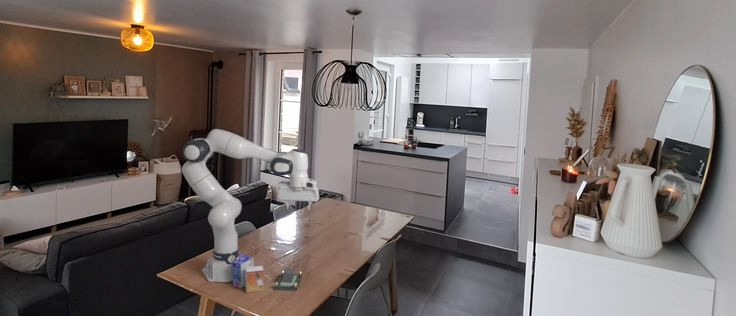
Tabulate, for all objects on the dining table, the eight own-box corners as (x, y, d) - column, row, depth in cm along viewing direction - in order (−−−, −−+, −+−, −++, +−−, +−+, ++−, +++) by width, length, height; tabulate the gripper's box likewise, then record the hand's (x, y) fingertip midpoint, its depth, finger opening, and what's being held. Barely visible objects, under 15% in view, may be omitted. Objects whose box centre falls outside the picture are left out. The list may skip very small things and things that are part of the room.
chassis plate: (274, 289, 198) (274, 283, 197) (281, 276, 212) (281, 269, 212) (296, 291, 198) (296, 284, 197) (302, 277, 212) (302, 270, 212)
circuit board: (280, 285, 200) (280, 274, 199) (284, 276, 210) (284, 265, 209) (292, 286, 200) (292, 275, 199) (296, 277, 210) (296, 266, 209)
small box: (246, 293, 194) (246, 271, 192) (245, 287, 199) (245, 267, 197) (264, 290, 197) (264, 269, 195) (262, 285, 202) (262, 265, 200)
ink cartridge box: (245, 277, 209) (245, 250, 206) (254, 280, 207) (254, 252, 204) (232, 286, 200) (231, 257, 197) (241, 288, 198) (241, 259, 195)
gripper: (276, 182, 201) (276, 210, 204) (318, 184, 201) (317, 211, 203) (279, 179, 208) (279, 206, 210) (320, 181, 207) (319, 208, 210)
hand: (298, 209), depth 207 cm, fingers open, 8 cm apart
